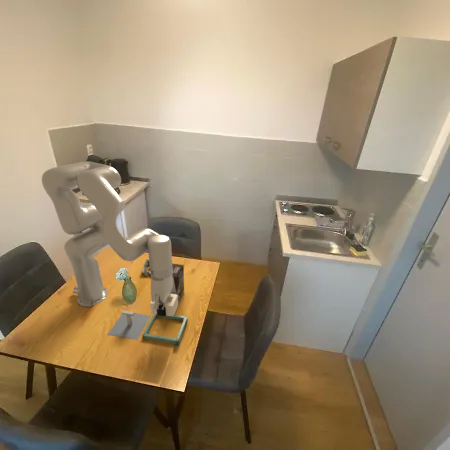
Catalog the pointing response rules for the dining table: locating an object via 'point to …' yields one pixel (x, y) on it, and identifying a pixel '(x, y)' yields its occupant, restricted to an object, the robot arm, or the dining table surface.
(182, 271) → the coffee box
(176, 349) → the dining table surface
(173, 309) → the white hollow rectangular block
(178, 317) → the tray
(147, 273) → the grey chain bracelet
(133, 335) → the grey plate with peg
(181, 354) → the dining table surface
